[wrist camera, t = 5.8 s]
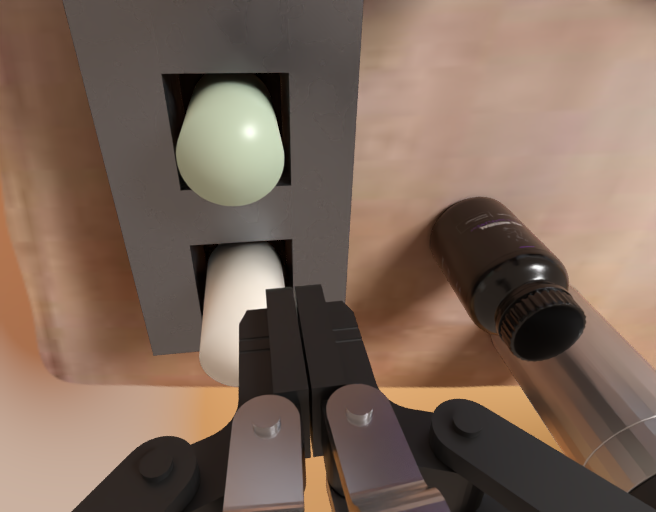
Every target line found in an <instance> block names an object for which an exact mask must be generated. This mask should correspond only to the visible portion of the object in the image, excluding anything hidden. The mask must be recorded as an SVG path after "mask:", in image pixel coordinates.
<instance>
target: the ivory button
mask: <svg viewBox="0 0 656 512" xmlns="http://www.w3.org/2000/svg"><path fill="white" fill-rule="evenodd" d="M284 287H285V284H284V277H283V270H282V263H281V259H280V256H279V254H278V252H277V251H276V249H275V248H274V247H273V246H272V245H271V244H269V243H268V242H266V241H251V242H235V243H221V244H219V245H218V246H217V247H216V248H215V249H214V250H213V251H212V253H211V255H210V257H209V260H208V266H207V277H206V288H205V298H204V309H203V320H202V331H201V342H200V353H199V359H200V364H201V366H202V368H203V370H204V371H205V372H206V373H207V374H208V376H210V377H211V378H212V379H214V380H216V381H217V382H219V383H222V384H225V385H228V386H233V387H239V323H240V321H241V320H242V318H243V316H244V314H245V313H246V311H247V310H253V309H264V308H267V304H266V290H265V289H273V288H284Z"/></svg>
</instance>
